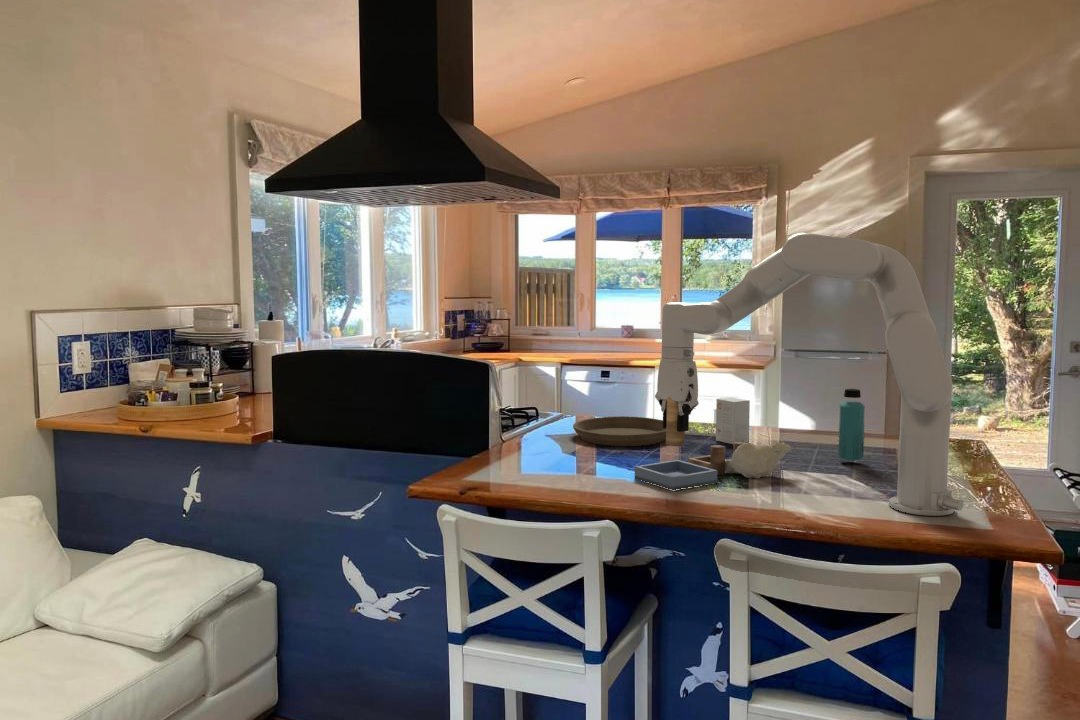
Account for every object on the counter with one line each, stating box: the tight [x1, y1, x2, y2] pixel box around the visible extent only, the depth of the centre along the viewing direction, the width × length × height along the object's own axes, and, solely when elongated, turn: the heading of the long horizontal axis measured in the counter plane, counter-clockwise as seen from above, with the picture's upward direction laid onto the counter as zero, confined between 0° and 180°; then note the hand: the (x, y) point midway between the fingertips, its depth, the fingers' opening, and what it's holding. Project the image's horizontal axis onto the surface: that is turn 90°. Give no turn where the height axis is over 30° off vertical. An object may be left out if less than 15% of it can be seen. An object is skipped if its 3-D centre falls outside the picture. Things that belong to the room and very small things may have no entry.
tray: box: [634, 459, 718, 490], centre depth 195 cm, size 14×14×3 cm
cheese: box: [725, 440, 792, 479], centre depth 200 cm, size 15×7×15 cm
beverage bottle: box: [837, 388, 865, 461], centre depth 214 cm, size 6×7×20 cm
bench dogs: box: [709, 442, 745, 476], centre depth 204 cm, size 4×12×7 cm, turn 122°
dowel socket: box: [688, 454, 728, 468], centre depth 210 cm, size 8×8×2 cm
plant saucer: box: [572, 415, 666, 447], centre depth 251 cm, size 31×31×5 cm
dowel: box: [665, 396, 686, 447], centre depth 194 cm, size 4×4×12 cm
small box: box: [715, 397, 751, 445], centre depth 244 cm, size 8×6×13 cm
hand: (675, 428), depth 194 cm, fingers closed on dowel, 4 cm apart
